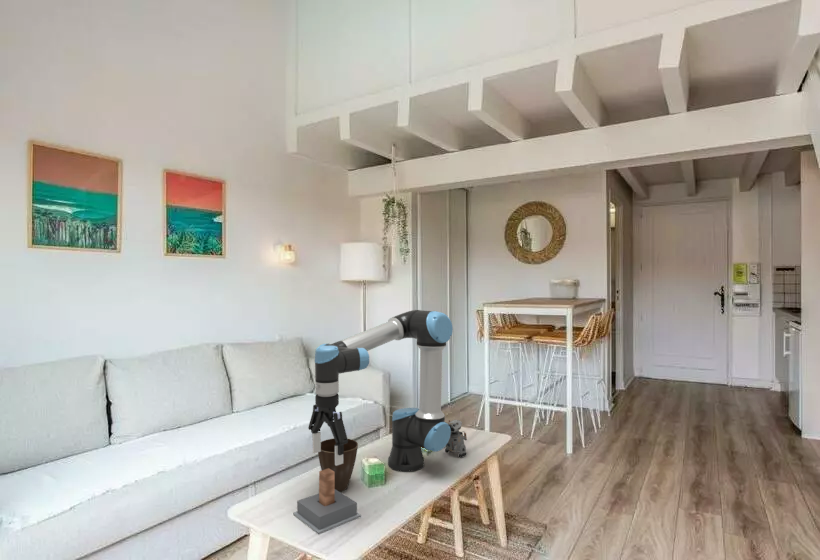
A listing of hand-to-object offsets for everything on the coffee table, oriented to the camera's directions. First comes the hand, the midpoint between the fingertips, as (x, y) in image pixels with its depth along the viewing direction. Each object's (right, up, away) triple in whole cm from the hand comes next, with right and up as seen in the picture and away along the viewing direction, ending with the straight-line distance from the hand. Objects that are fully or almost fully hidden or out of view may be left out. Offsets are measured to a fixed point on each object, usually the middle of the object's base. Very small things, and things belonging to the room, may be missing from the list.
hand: (327, 458), depth 157 cm
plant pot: (0, -19, +21) cm, 28 cm away
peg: (0, -18, 0) cm, 18 cm away
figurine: (+46, -19, +52) cm, 72 cm away
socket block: (0, -19, 0) cm, 19 cm away
